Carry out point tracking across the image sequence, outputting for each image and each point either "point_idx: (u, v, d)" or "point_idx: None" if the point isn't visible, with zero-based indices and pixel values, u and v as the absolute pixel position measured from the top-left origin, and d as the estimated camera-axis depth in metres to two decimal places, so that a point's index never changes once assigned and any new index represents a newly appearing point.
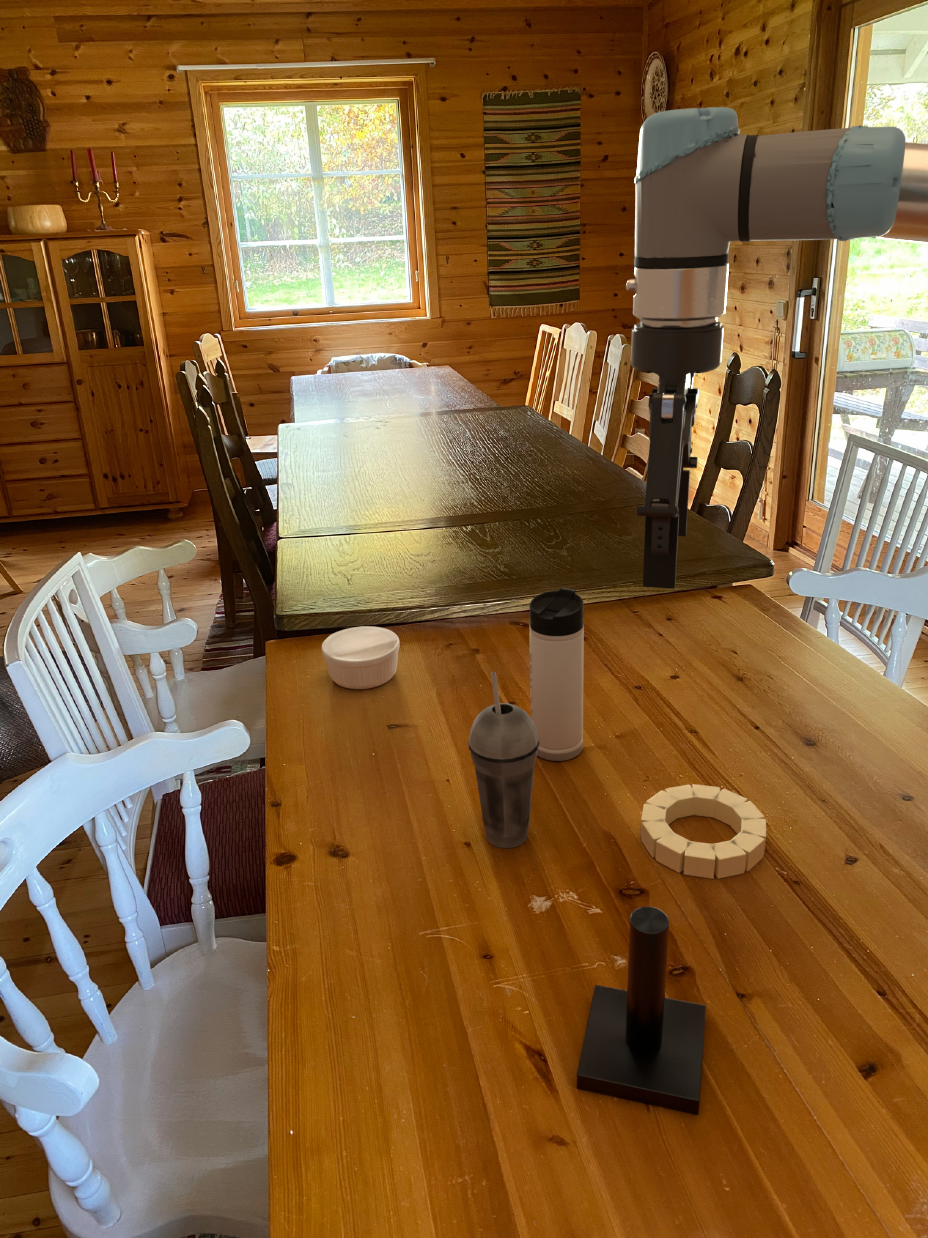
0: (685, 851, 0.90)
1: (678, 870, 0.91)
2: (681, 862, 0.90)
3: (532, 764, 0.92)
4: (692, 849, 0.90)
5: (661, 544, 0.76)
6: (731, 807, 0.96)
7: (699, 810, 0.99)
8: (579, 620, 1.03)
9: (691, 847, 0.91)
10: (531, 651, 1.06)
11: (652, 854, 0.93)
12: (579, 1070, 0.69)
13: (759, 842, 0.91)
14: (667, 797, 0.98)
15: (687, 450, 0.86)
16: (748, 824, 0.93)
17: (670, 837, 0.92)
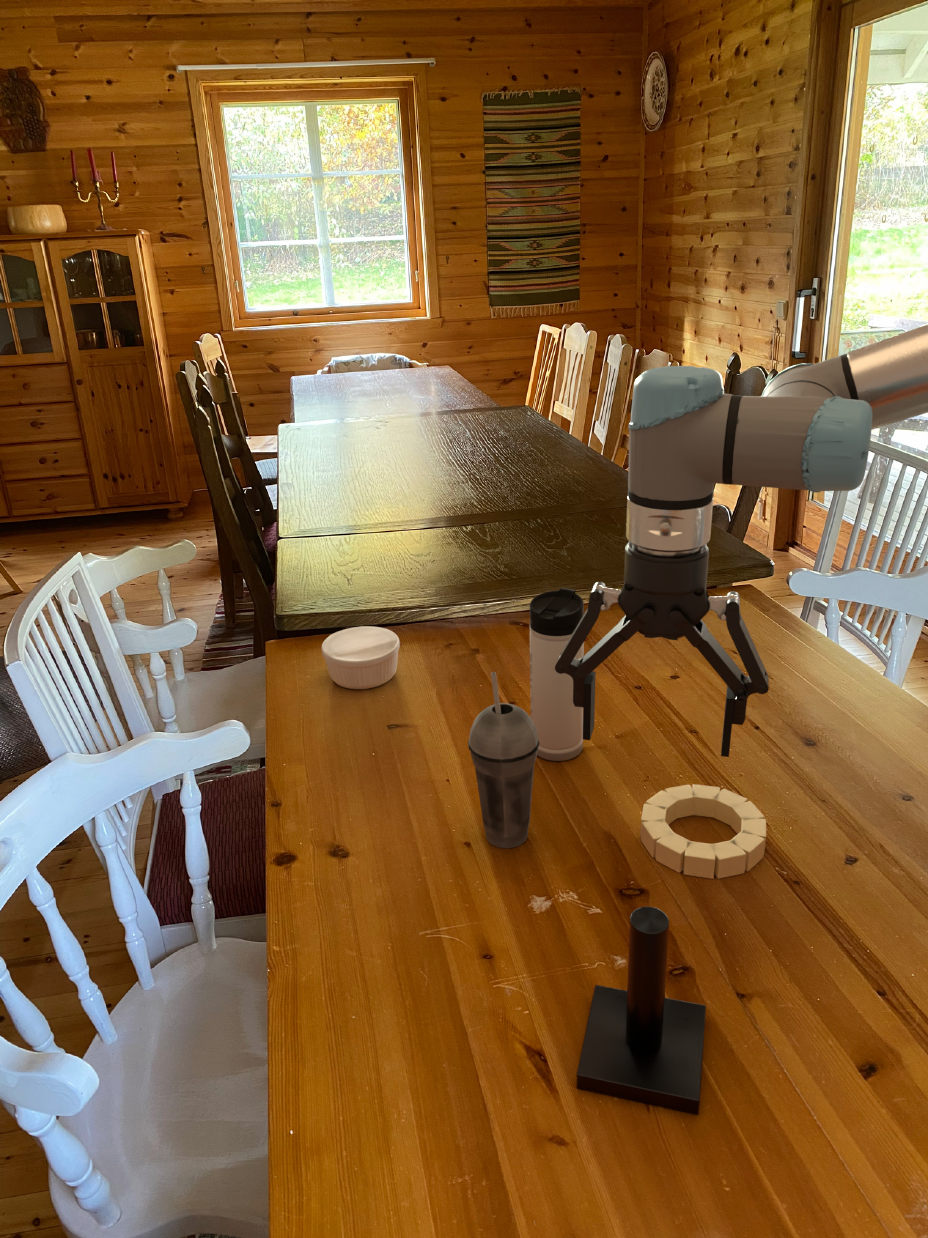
0: (685, 851, 0.90)
1: (678, 870, 0.91)
2: (681, 862, 0.90)
3: (532, 764, 0.92)
4: (692, 849, 0.90)
5: None
6: (731, 807, 0.96)
7: (699, 810, 0.99)
8: (579, 620, 1.03)
9: (691, 847, 0.91)
10: (531, 651, 1.06)
11: (652, 854, 0.93)
12: (579, 1070, 0.69)
13: (759, 842, 0.91)
14: (667, 797, 0.98)
15: None
16: (748, 824, 0.93)
17: (670, 837, 0.92)
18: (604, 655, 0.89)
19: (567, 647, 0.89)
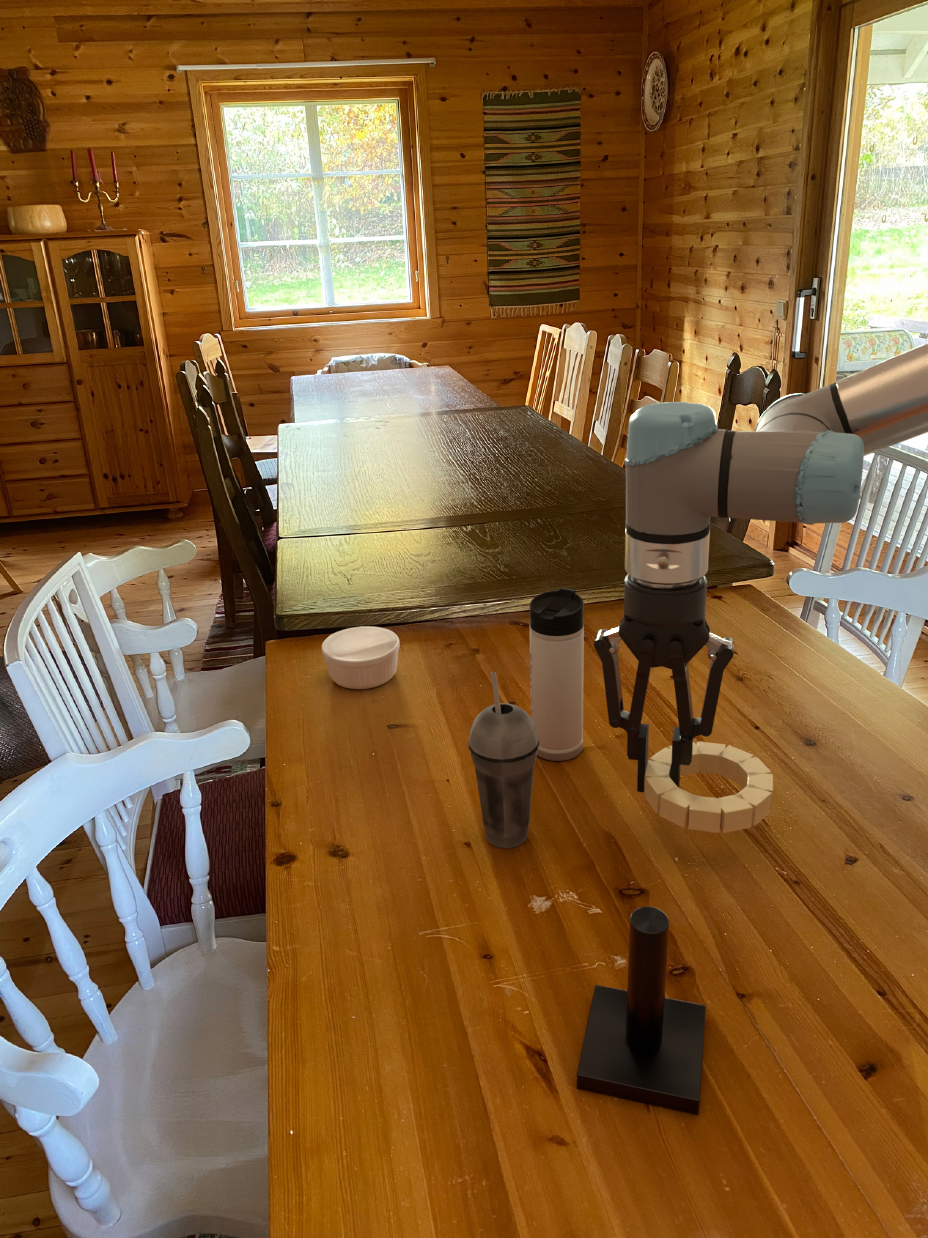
0: (690, 805, 0.88)
1: (683, 825, 0.88)
2: (686, 816, 0.88)
3: (532, 764, 0.92)
4: (697, 803, 0.88)
5: None
6: (737, 763, 0.94)
7: (704, 767, 0.96)
8: (579, 620, 1.03)
9: (695, 801, 0.88)
10: (531, 651, 1.06)
11: (656, 810, 0.91)
12: (579, 1070, 0.69)
13: (766, 796, 0.88)
14: (671, 754, 0.96)
15: (645, 697, 0.92)
16: (754, 779, 0.91)
17: (674, 792, 0.90)
18: (640, 700, 0.89)
19: (607, 701, 0.91)
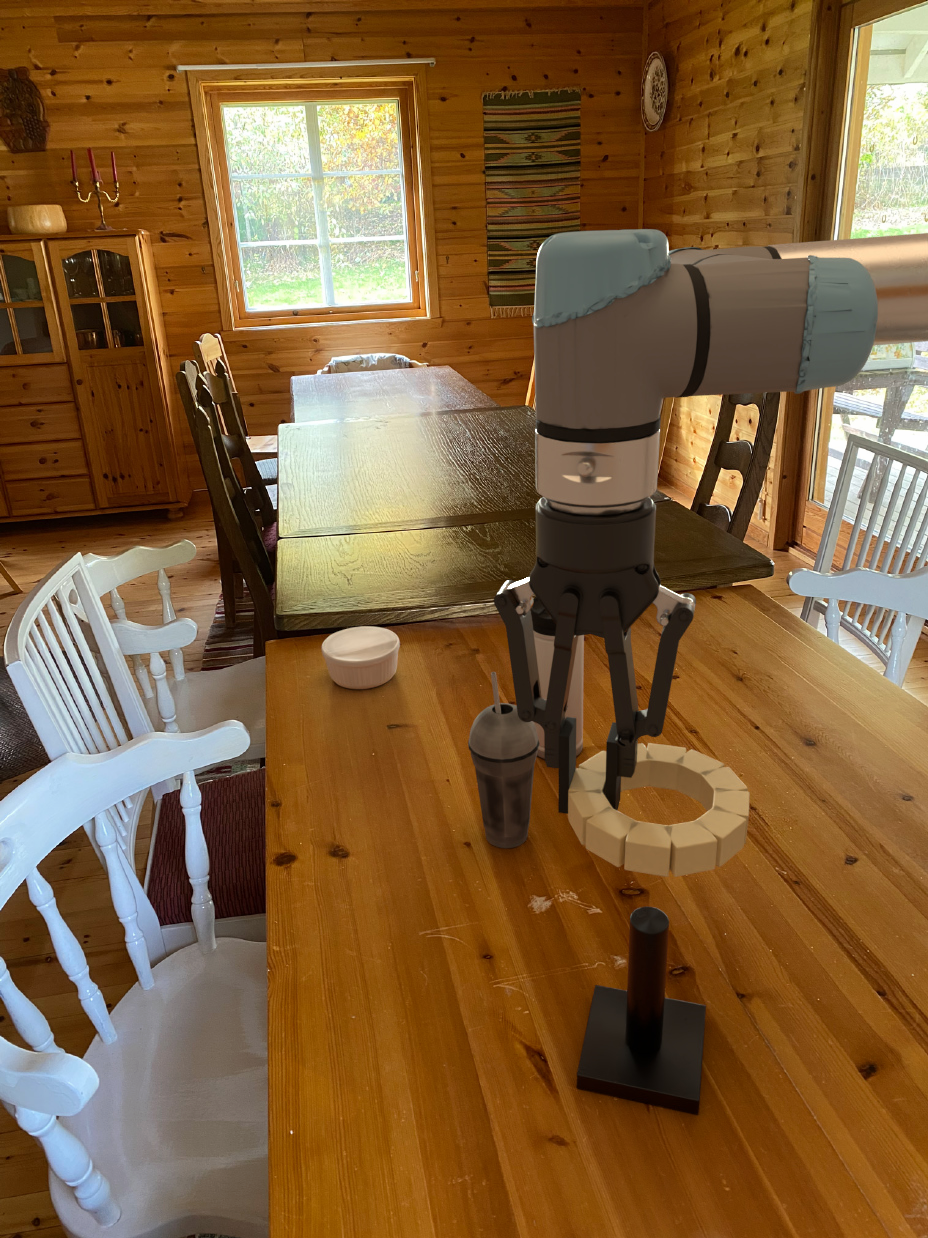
0: (627, 835, 0.61)
1: (617, 864, 0.61)
2: (621, 851, 0.61)
3: (532, 764, 0.92)
4: (637, 832, 0.61)
5: None
6: (700, 774, 0.67)
7: (656, 779, 0.69)
8: None
9: (635, 830, 0.61)
10: None
11: (581, 839, 0.63)
12: (579, 1070, 0.69)
13: (738, 824, 0.61)
14: None
15: None
16: (723, 798, 0.64)
17: (607, 815, 0.63)
18: (561, 682, 0.62)
19: (515, 684, 0.63)
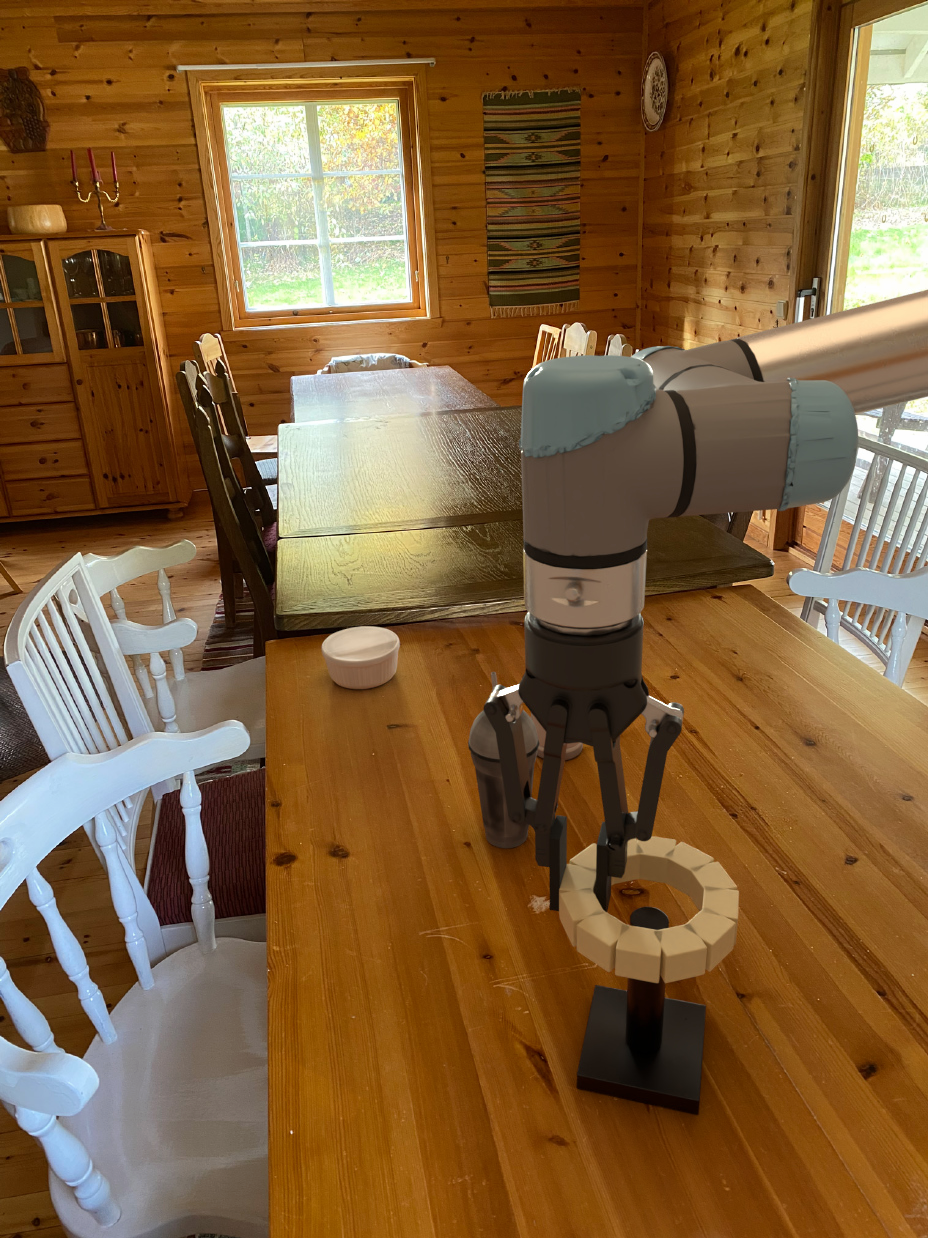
0: (617, 941, 0.61)
1: (607, 969, 0.62)
2: (612, 957, 0.61)
3: (532, 764, 0.92)
4: (628, 938, 0.61)
5: None
6: (690, 871, 0.67)
7: (646, 873, 0.69)
8: None
9: (626, 935, 0.61)
10: None
11: (572, 941, 0.64)
12: (579, 1070, 0.69)
13: (727, 928, 0.62)
14: None
15: None
16: (713, 898, 0.64)
17: (598, 918, 0.63)
18: (551, 787, 0.63)
19: (505, 787, 0.64)
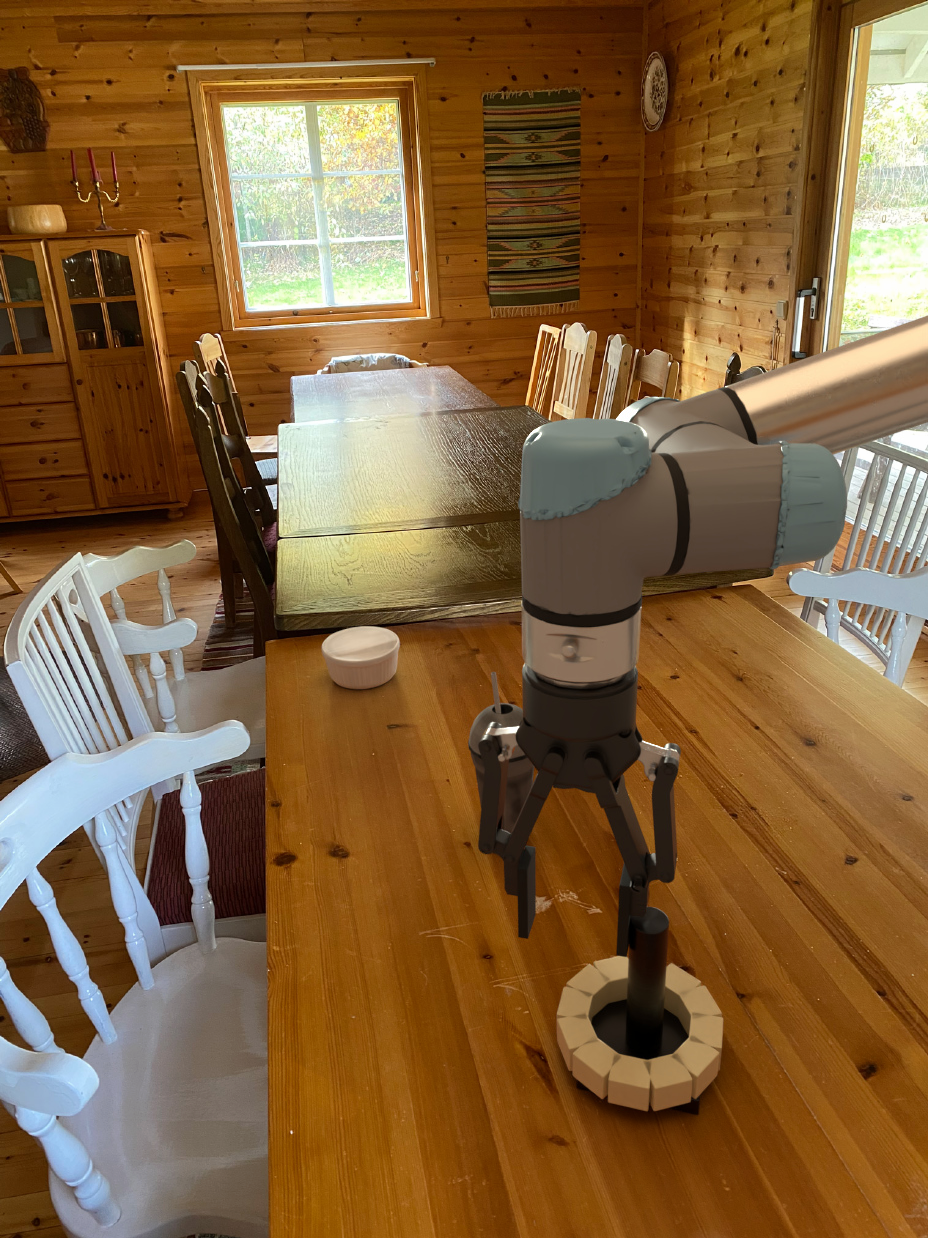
0: (610, 1072, 0.66)
1: (601, 1097, 0.67)
2: (605, 1086, 0.66)
3: (532, 764, 0.92)
4: (619, 1069, 0.66)
5: None
6: (678, 995, 0.72)
7: None
8: None
9: (618, 1066, 0.66)
10: None
11: (568, 1067, 0.69)
12: None
13: (711, 1058, 0.67)
14: (595, 976, 0.74)
15: None
16: (699, 1026, 0.69)
17: (592, 1046, 0.68)
18: (529, 824, 0.65)
19: (482, 819, 0.66)
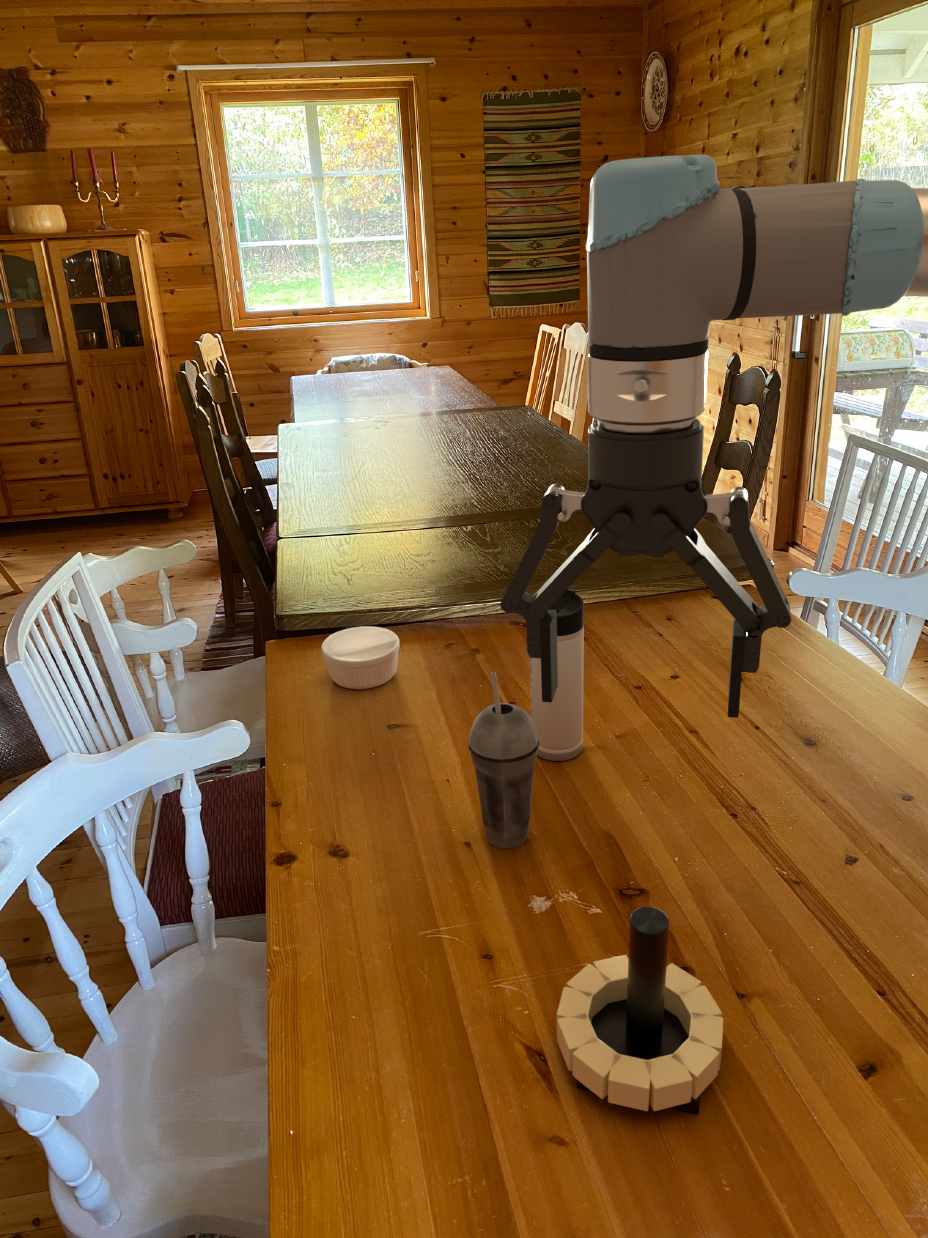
0: (610, 1072, 0.66)
1: (601, 1097, 0.67)
2: (605, 1086, 0.66)
3: (532, 764, 0.92)
4: (619, 1069, 0.66)
5: None
6: (678, 995, 0.72)
7: None
8: (579, 620, 1.03)
9: (618, 1066, 0.66)
10: None
11: (568, 1067, 0.69)
12: None
13: (711, 1058, 0.67)
14: (595, 976, 0.74)
15: None
16: (699, 1026, 0.69)
17: (592, 1046, 0.68)
18: (565, 584, 0.65)
19: (515, 575, 0.66)
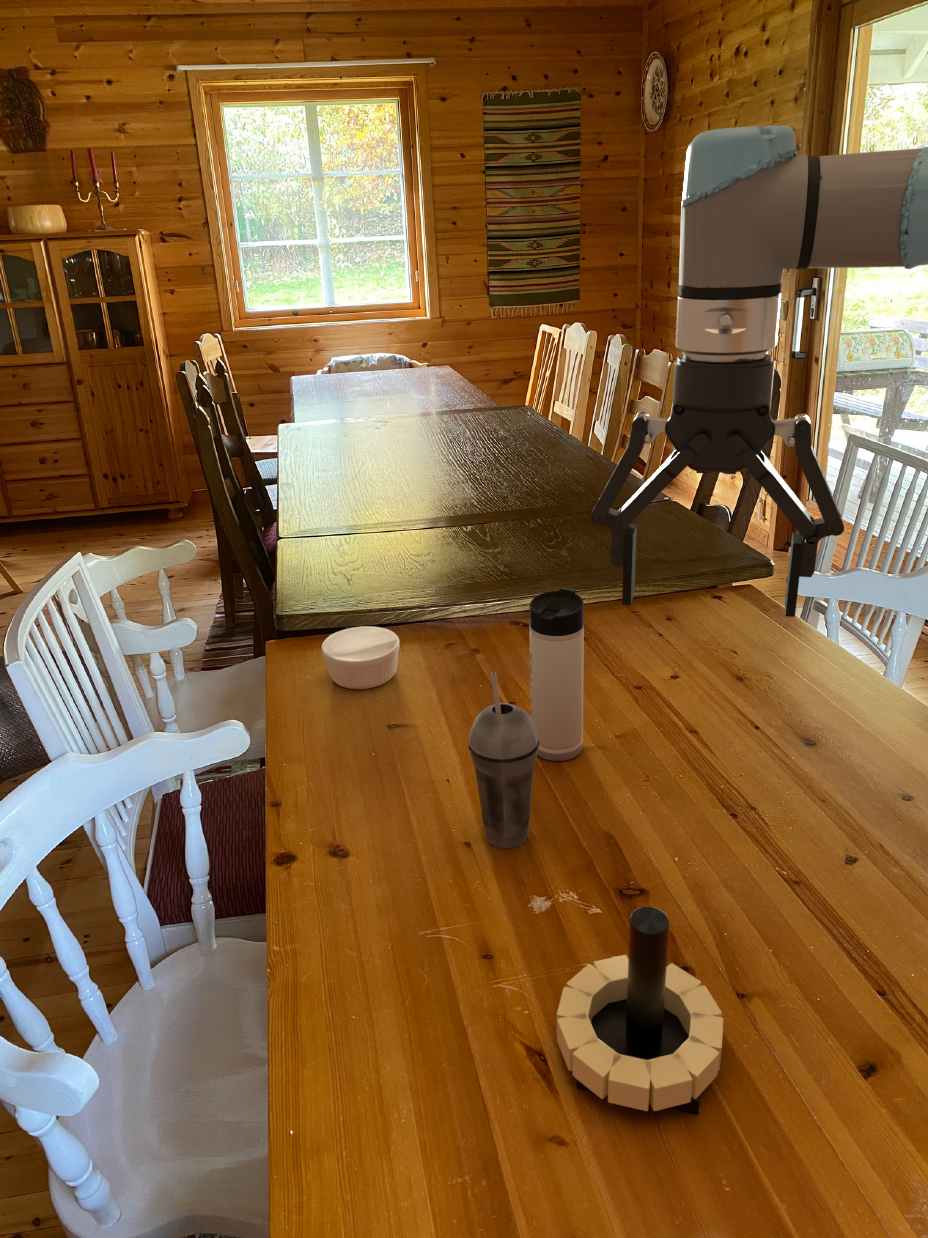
0: (610, 1072, 0.66)
1: (601, 1097, 0.67)
2: (605, 1086, 0.66)
3: (532, 764, 0.92)
4: (619, 1069, 0.66)
5: None
6: (678, 995, 0.72)
7: None
8: (579, 620, 1.03)
9: (618, 1066, 0.66)
10: (531, 651, 1.06)
11: (568, 1067, 0.69)
12: None
13: (711, 1058, 0.67)
14: (595, 976, 0.74)
15: None
16: (699, 1026, 0.69)
17: (592, 1046, 0.68)
18: (648, 498, 0.76)
19: (605, 491, 0.77)
